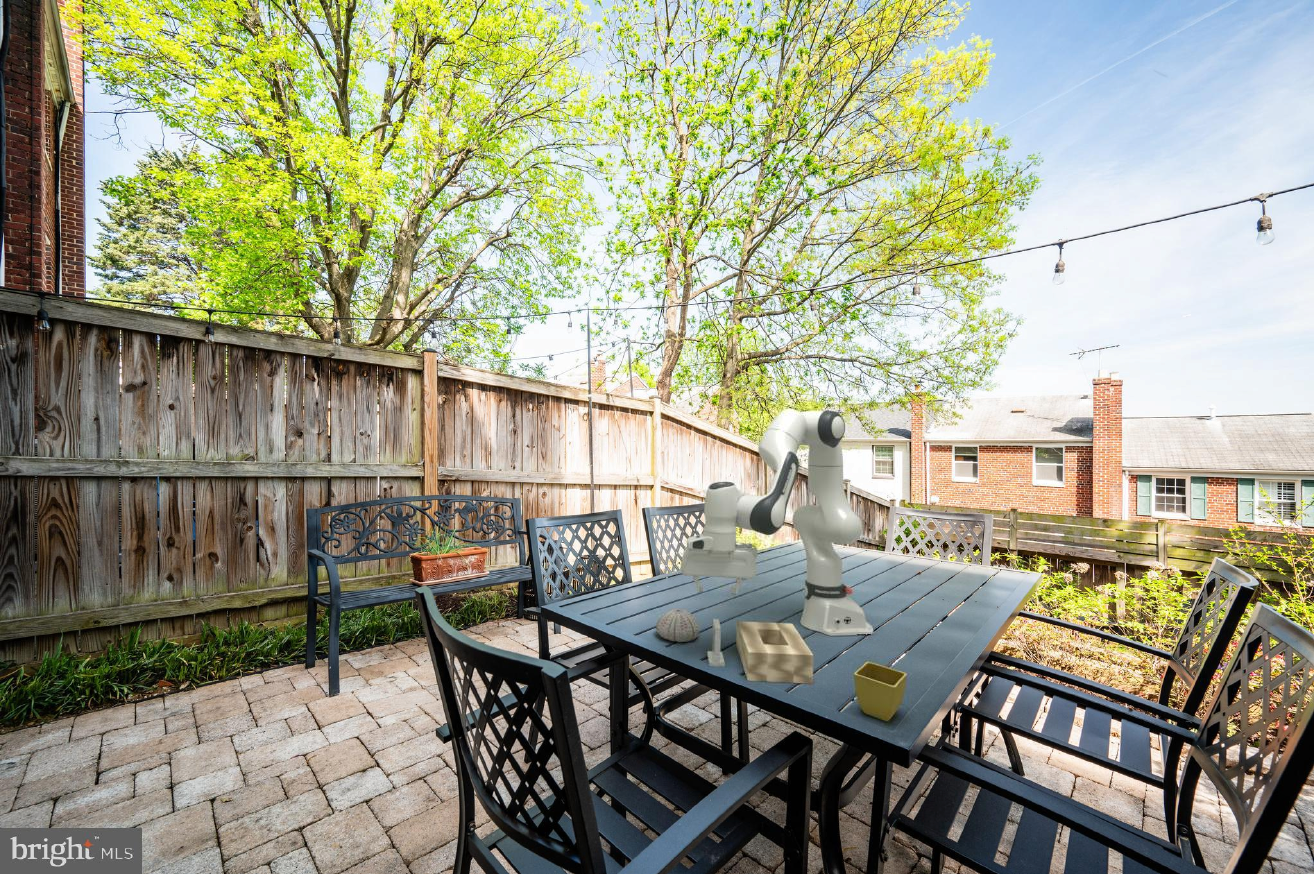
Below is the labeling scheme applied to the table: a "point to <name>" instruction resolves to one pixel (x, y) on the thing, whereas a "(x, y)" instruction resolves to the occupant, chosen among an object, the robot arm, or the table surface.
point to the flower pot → (879, 690)
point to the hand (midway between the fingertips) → (717, 593)
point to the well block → (774, 653)
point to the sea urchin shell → (678, 626)
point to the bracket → (716, 646)
